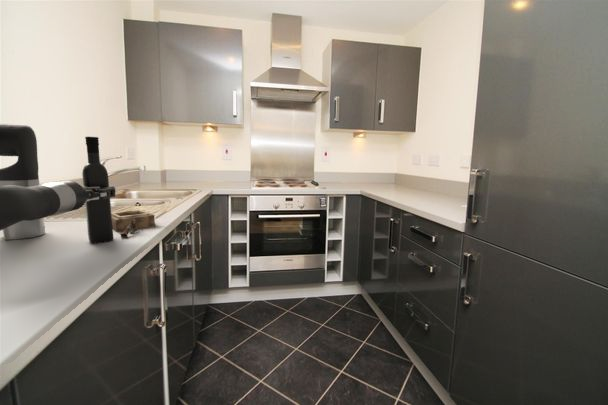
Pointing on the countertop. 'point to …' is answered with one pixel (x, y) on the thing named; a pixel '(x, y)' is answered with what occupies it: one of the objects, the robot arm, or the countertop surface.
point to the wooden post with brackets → (125, 233)
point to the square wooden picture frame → (124, 218)
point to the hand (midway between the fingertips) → (97, 189)
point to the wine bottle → (97, 209)
